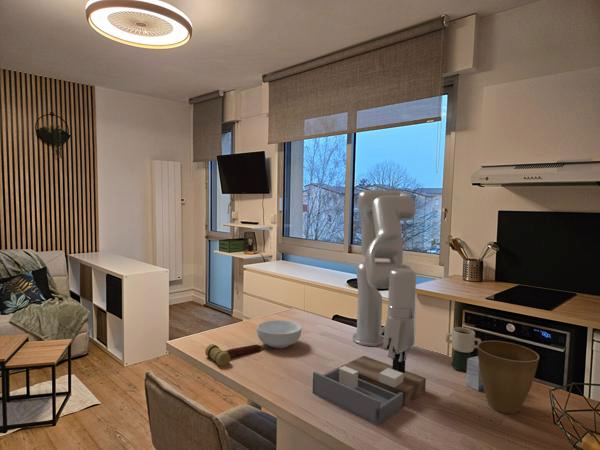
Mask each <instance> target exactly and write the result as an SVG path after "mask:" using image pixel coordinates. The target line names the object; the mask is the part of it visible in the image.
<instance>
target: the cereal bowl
mask: <svg viewBox="0 0 600 450" xmlns="http://www.w3.org/2000/svg"><path fill="white" fill-rule="evenodd" d="M256 333H257V338H258V339H259V340H260V342H261V343H263V344H265V345H268V346H269V347H270V348H274V349H284V348H287V347H289V346H291V345H294V344H295V343H296V342H298V341H299V340H300V338H301V336H302V326H301V325H300V324H299V323H297V322H294V321H290V320H278V319H277V320H275V319H274V320H267V321H264V322H261V323H259V324H257V326H256Z"/></svg>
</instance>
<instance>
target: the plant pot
mask: <svg viewBox="0 0 600 450" xmlns="http://www.w3.org/2000/svg"><path fill="white" fill-rule="evenodd" d="M476 345H477V348H476V349H477V356H478V360H479V368H480V374H481V379H482V383H483V387H484V390H483V391H484V394H485V398H486V400H487V403H488V405H489V407H490V408H491V409H493V410H494V411H496V412H499V413H502V414H507V413H508V415H514V414H517V413H519V411H520V410H521V408H522V406H523V404H524V403H525V401H526V398H527V396H528V394H529V392H530V390H531V388H532V386H533V385H532V384H533V382H534V379H535V376H536V373H537V368H538V364H539V360H540V355H539V354H538V353H537V352H536V351H534V350H532V349H531V348H528V347H526V346H523V345H520V344H516V343H512V342H508V341H500V340H484V341H481V342H480V343H478V342H477V344H476Z"/></svg>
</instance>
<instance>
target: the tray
mask: <svg viewBox="0 0 600 450" xmlns="http://www.w3.org/2000/svg"><path fill="white" fill-rule="evenodd" d="M339 368H341V366H340V367H337V368H334V369H333V370H332V369H331V370H330V371H328V372H325V373H324V374H321V373H319V372H317V371H314V372H313V373H312V394H314V395H316V396H318V397H320V398H322V399H324V400H327V401H328V402H330V403H332V404H334V405H335V406H338V407H340V408H342V409H343V410H347V411H348V412H351V413H352V414H354V415H357V416H358V417H360V418H362V419H364V420H366V421H369V422H370V423H373V424H374V425H377V426H379V425H380V424H382V423H383V422H384V421H386V420H388V419H389V418H390V417H392V416H393V415H394V414H396V413H397V412H399V411H400V410H401V409H403V407H404V406H403V393H401V392H400V393H399V394H395V393H393V392H390V391H388V390H385V389H383V388H381V387H378V386H376V385H373V384H371V383H369V382H366V381H364V380H361V379H359V378H358V388H357V389H353V388H351V387H348V386H346V385H344V384H342V383H339Z"/></svg>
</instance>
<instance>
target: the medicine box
mask: <svg viewBox="0 0 600 450" xmlns="http://www.w3.org/2000/svg"><path fill="white" fill-rule="evenodd" d="M465 379H466V381H465V385H466V386H467V387H469V388H471V389H473V390H475V391H477V392H480V390H481V391H484V387H483V383H482V379H481V374H480V368H479V360H478V355H475V356H471V358H468V359H467V370H466V377H465Z"/></svg>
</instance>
